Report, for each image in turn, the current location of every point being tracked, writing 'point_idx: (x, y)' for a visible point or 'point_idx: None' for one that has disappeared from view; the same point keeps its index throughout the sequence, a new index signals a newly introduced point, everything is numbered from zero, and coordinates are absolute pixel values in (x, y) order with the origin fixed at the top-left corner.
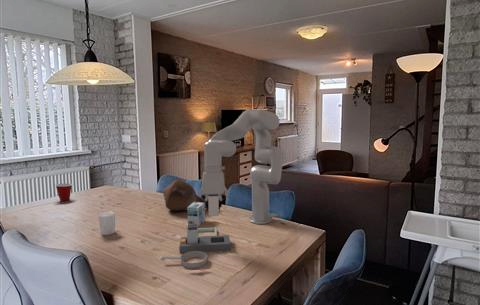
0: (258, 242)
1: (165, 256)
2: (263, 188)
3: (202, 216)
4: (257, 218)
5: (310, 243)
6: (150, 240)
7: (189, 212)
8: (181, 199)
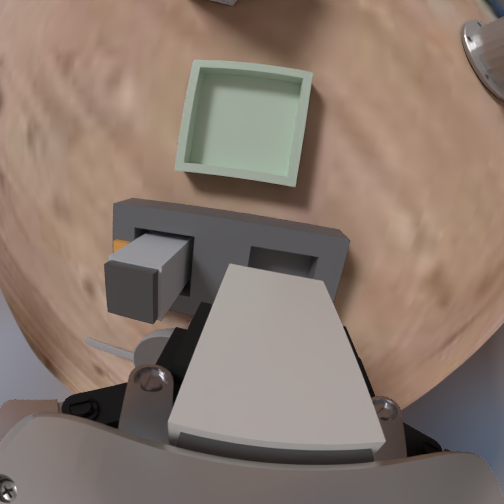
0: (440, 258)
1: (91, 342)
2: None
3: None
4: (495, 72)
5: None
6: (45, 130)
7: None
8: None
